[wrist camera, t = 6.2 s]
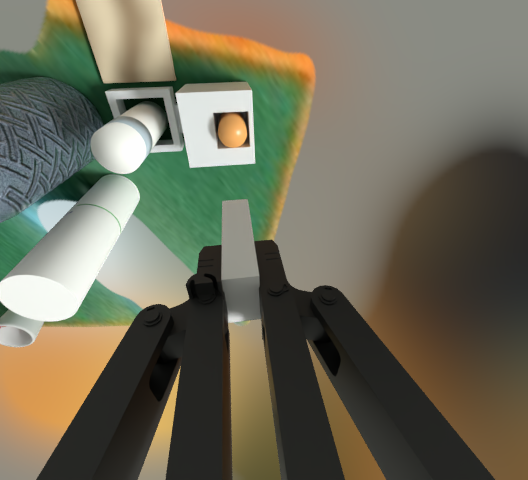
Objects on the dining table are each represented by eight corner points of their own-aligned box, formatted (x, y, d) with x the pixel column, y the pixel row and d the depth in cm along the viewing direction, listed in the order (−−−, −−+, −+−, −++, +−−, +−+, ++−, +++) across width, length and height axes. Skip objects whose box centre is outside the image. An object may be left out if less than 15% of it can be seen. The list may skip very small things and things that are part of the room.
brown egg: (220, 136, 38) (220, 148, 34) (217, 109, 36) (216, 118, 31) (245, 134, 39) (247, 146, 34) (243, 107, 37) (246, 116, 32)
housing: (132, 149, 43) (110, 172, 35) (111, 86, 38) (81, 97, 30) (249, 142, 45) (255, 163, 37) (246, 81, 39) (251, 89, 31)
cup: (49, 327, 65) (30, 357, 59) (10, 319, 62) (-15, 350, 56) (56, 300, 60) (36, 330, 54) (14, 290, 57) (-12, 321, 51)
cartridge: (139, 136, 42) (101, 175, 29) (128, 101, 39) (81, 127, 26) (171, 135, 42) (148, 172, 30) (163, 99, 39) (133, 124, 27)
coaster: (105, 82, 37) (103, 83, 37) (73, -14, 31) (70, -15, 31) (176, 80, 38) (175, 80, 38) (158, -15, 32) (157, -16, 32)
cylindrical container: (86, 186, 46) (-22, 293, 26) (118, 166, 44) (31, 264, 24) (118, 216, 50) (45, 329, 30) (148, 199, 48) (93, 305, 28)
